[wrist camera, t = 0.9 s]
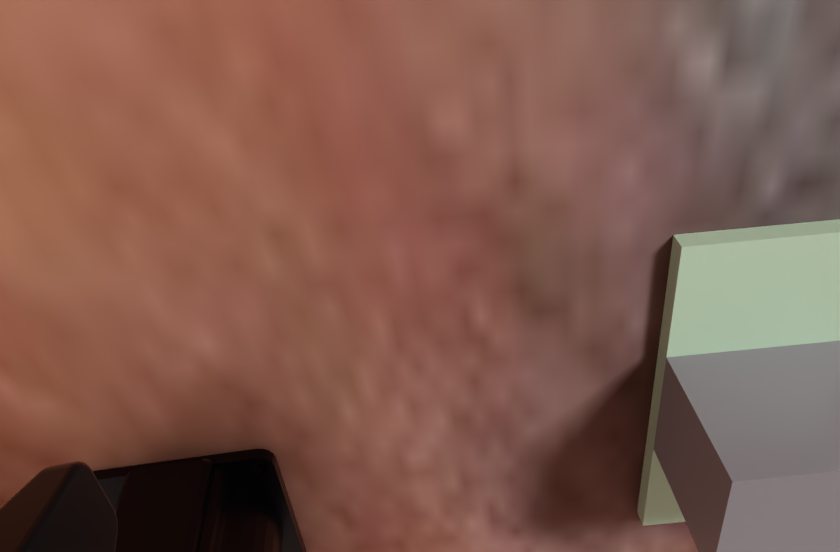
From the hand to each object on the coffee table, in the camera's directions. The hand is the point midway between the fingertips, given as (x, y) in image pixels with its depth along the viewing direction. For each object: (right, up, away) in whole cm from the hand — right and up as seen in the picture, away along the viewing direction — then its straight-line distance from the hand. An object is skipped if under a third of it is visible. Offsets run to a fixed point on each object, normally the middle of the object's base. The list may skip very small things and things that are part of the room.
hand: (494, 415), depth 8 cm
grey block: (+10, -2, +17) cm, 20 cm away
